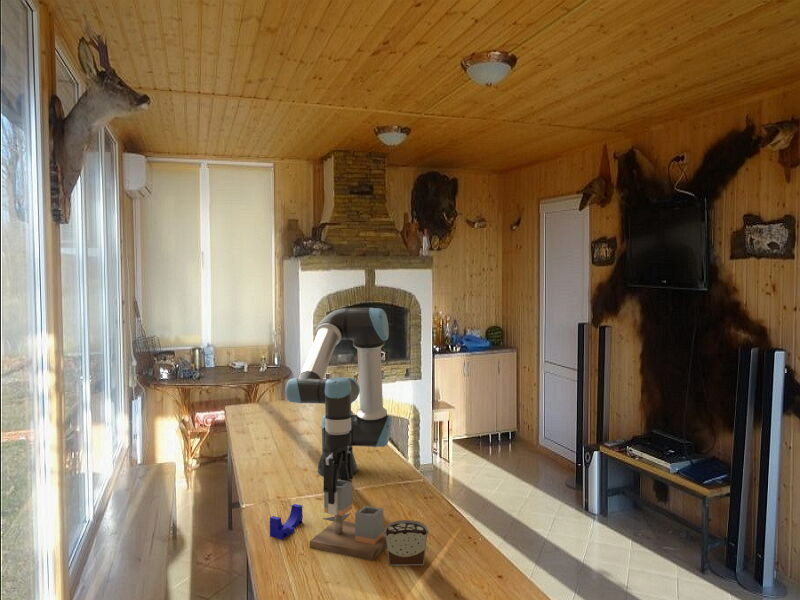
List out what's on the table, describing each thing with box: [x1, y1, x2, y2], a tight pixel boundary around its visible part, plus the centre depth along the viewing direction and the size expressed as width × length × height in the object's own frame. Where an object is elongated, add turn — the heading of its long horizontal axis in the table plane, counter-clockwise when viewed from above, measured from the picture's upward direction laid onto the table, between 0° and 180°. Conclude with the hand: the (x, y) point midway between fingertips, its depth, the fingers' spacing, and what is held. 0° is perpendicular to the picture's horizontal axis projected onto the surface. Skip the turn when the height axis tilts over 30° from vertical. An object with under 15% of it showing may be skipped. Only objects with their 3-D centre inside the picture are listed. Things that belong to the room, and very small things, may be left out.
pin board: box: [309, 513, 387, 562], centre depth 173 cm, size 16×20×9 cm
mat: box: [322, 513, 351, 522], centre depth 195 cm, size 12×12×1 cm
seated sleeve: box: [354, 505, 384, 545], centre depth 171 cm, size 6×6×8 cm
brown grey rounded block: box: [383, 519, 430, 567], centre depth 163 cm, size 12×6×10 cm, turn 92°
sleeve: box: [323, 478, 353, 516], centre depth 175 cm, size 6×6×8 cm
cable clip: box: [269, 503, 303, 541], centre depth 181 cm, size 12×4×6 cm, turn 153°
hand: (338, 509), depth 175 cm, fingers closed on sleeve, 6 cm apart
